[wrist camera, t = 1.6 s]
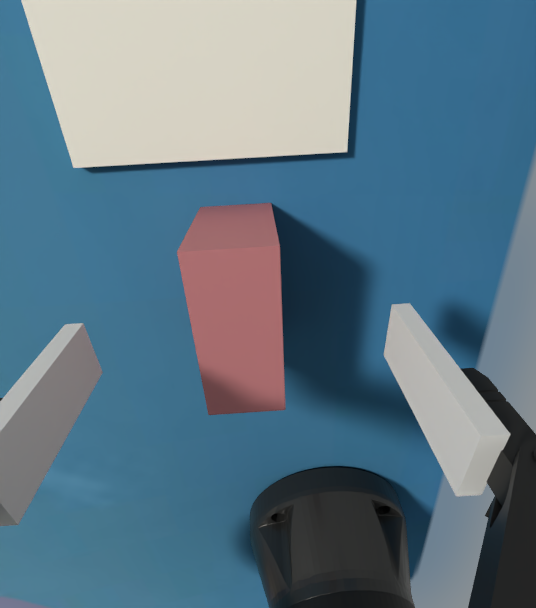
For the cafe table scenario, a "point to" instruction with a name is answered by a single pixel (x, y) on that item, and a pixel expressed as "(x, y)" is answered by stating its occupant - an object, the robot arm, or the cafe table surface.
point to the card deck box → (236, 306)
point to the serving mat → (196, 77)
